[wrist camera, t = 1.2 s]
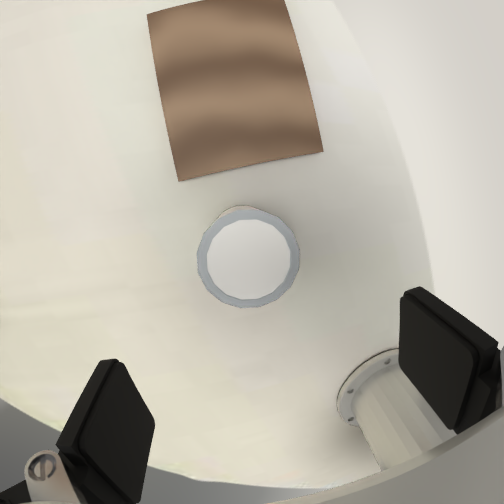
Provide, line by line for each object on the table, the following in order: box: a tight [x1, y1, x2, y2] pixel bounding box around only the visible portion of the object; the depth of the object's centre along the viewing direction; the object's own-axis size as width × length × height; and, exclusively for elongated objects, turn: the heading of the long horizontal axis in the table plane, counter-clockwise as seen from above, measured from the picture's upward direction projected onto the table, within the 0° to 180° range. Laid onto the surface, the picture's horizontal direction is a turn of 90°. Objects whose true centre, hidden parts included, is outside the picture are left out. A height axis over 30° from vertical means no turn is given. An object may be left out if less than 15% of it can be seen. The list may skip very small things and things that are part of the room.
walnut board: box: [147, 0, 324, 181], centre depth 22 cm, size 16×12×2 cm
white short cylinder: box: [197, 206, 300, 308], centre depth 23 cm, size 7×7×7 cm
